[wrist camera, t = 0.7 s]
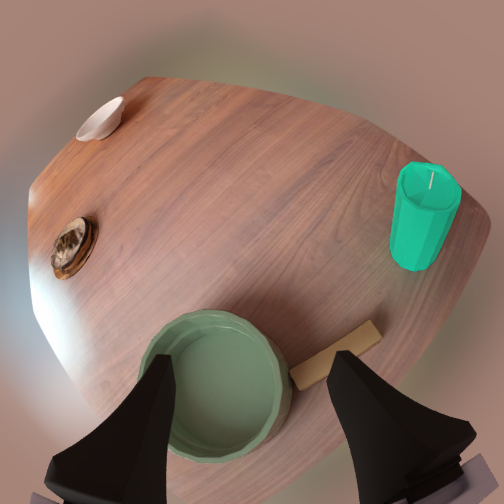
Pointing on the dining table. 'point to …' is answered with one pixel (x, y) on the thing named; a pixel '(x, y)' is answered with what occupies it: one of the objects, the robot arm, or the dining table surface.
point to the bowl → (102, 121)
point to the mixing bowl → (222, 385)
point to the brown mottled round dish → (74, 246)
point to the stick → (322, 361)
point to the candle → (422, 214)
